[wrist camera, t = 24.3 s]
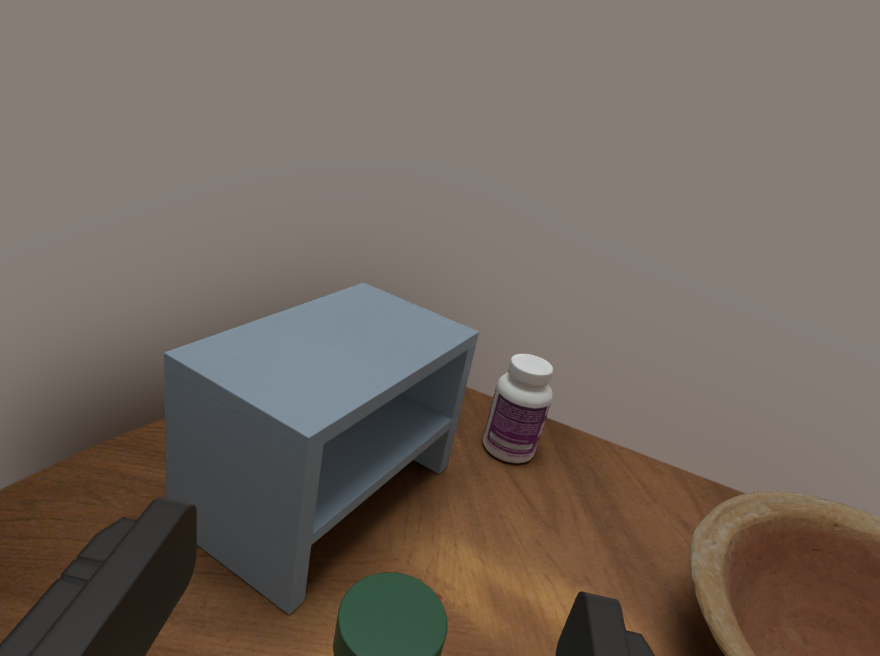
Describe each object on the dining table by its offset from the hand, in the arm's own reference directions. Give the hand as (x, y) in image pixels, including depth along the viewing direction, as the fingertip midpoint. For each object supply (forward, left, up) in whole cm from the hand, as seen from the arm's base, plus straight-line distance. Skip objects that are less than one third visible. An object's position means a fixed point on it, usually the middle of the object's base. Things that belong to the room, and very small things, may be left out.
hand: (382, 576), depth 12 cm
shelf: (-18, +22, -24) cm, 38 cm away
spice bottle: (-3, +8, -23) cm, 25 cm away
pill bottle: (-9, +39, -24) cm, 47 cm away
